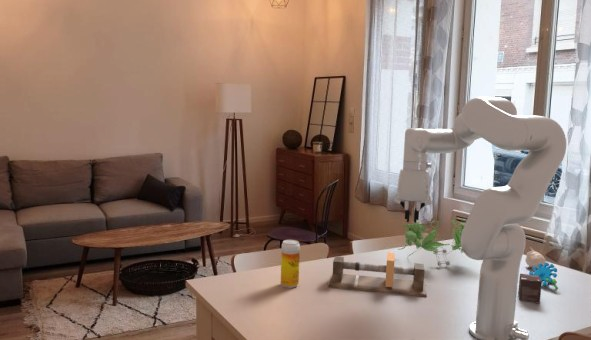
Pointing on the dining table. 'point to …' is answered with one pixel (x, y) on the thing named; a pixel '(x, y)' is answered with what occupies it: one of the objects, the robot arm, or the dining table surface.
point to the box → (529, 288)
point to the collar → (390, 269)
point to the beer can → (290, 263)
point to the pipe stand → (377, 278)
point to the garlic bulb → (534, 259)
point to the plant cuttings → (428, 242)
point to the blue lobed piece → (545, 274)
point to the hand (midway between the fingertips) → (411, 221)
